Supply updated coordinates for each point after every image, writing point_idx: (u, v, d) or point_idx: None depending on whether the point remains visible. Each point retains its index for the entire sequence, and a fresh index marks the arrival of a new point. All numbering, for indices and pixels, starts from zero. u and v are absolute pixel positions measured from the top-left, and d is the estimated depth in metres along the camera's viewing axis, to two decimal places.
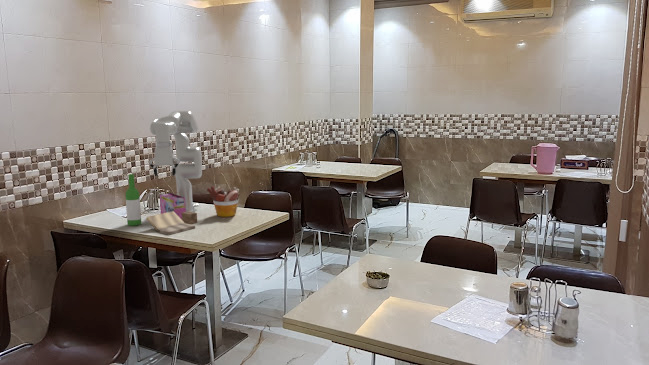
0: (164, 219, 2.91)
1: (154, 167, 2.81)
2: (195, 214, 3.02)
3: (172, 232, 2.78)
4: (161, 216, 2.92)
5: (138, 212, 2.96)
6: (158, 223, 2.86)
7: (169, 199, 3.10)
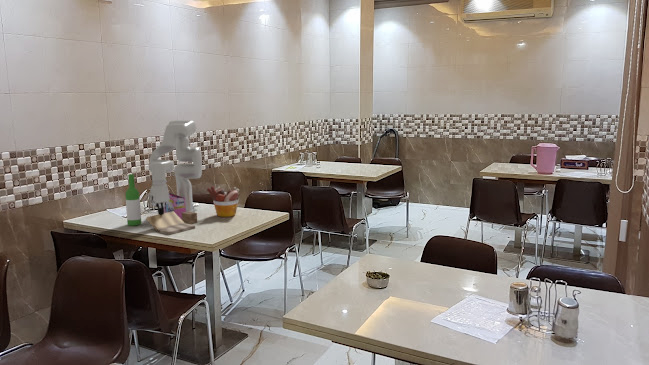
0: (164, 219, 2.91)
1: (160, 206, 2.91)
2: (195, 214, 3.02)
3: (172, 232, 2.78)
4: (161, 216, 2.92)
5: (138, 212, 2.96)
6: (158, 223, 2.86)
7: (169, 199, 3.10)
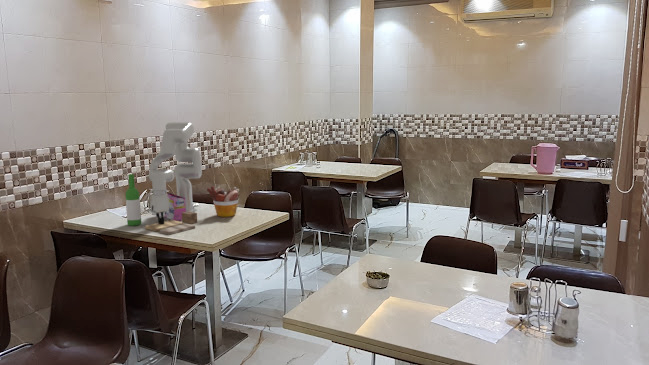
0: (162, 224, 2.92)
1: (160, 216, 2.91)
2: (195, 214, 3.02)
3: (172, 232, 2.78)
4: None
5: (138, 212, 2.96)
6: (157, 226, 2.87)
7: (169, 199, 3.09)
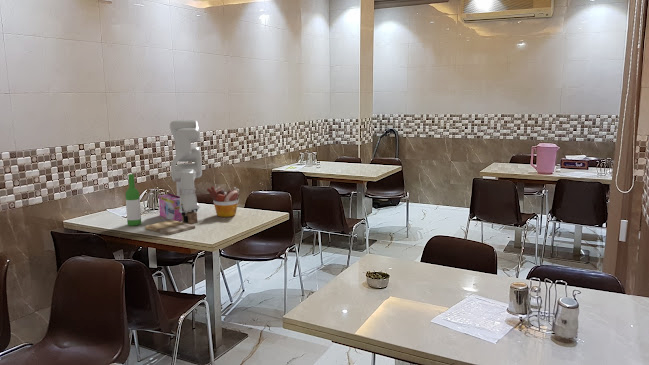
0: (162, 224, 2.92)
1: (186, 214, 3.00)
2: (195, 214, 3.02)
3: (172, 232, 2.78)
4: (159, 223, 2.94)
5: (138, 212, 2.96)
6: (157, 226, 2.87)
7: (169, 200, 3.08)
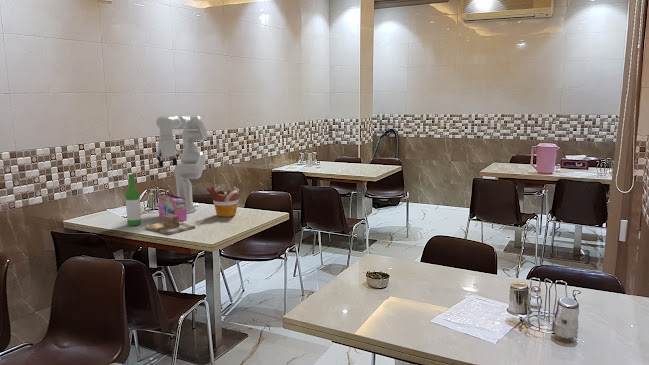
0: (162, 224, 2.92)
1: (161, 159, 2.99)
2: (177, 217, 2.87)
3: (172, 232, 2.78)
4: (159, 223, 2.94)
5: (138, 212, 2.96)
6: (157, 226, 2.87)
7: (169, 200, 3.07)
